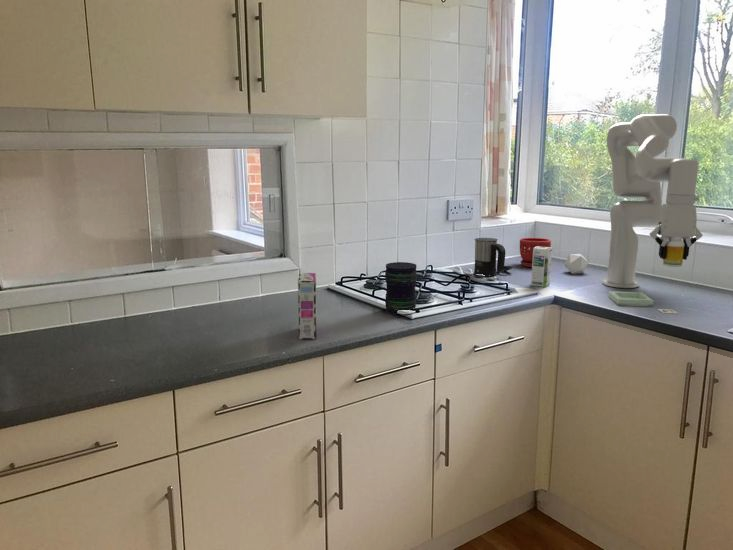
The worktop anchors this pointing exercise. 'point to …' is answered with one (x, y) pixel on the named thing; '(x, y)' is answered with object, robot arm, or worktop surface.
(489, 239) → the milk frother
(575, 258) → the die
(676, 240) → the supplement bottle
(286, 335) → the worktop surface
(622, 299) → the green tray
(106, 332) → the worktop surface
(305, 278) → the candy bar box
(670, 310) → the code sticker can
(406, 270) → the storage jar
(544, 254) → the syrup box
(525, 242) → the plant pot
